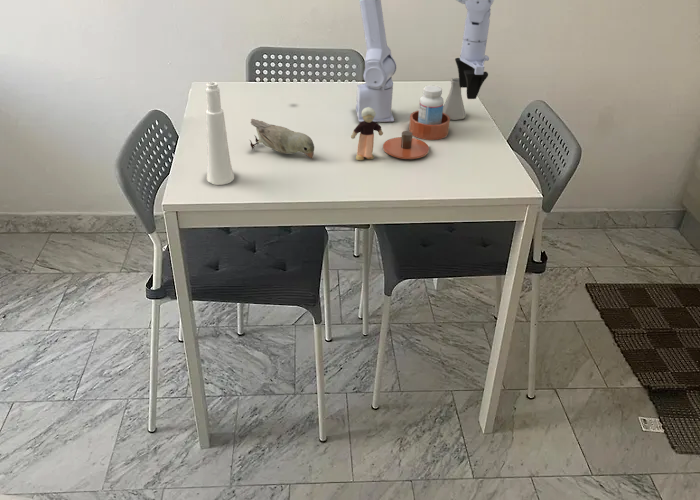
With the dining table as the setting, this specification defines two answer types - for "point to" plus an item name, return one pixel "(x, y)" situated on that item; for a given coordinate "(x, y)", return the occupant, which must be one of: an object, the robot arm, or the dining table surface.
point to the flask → (454, 102)
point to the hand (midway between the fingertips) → (467, 92)
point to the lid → (406, 147)
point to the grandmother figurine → (366, 134)
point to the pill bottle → (431, 105)
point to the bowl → (429, 127)
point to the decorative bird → (282, 139)
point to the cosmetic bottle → (217, 139)
